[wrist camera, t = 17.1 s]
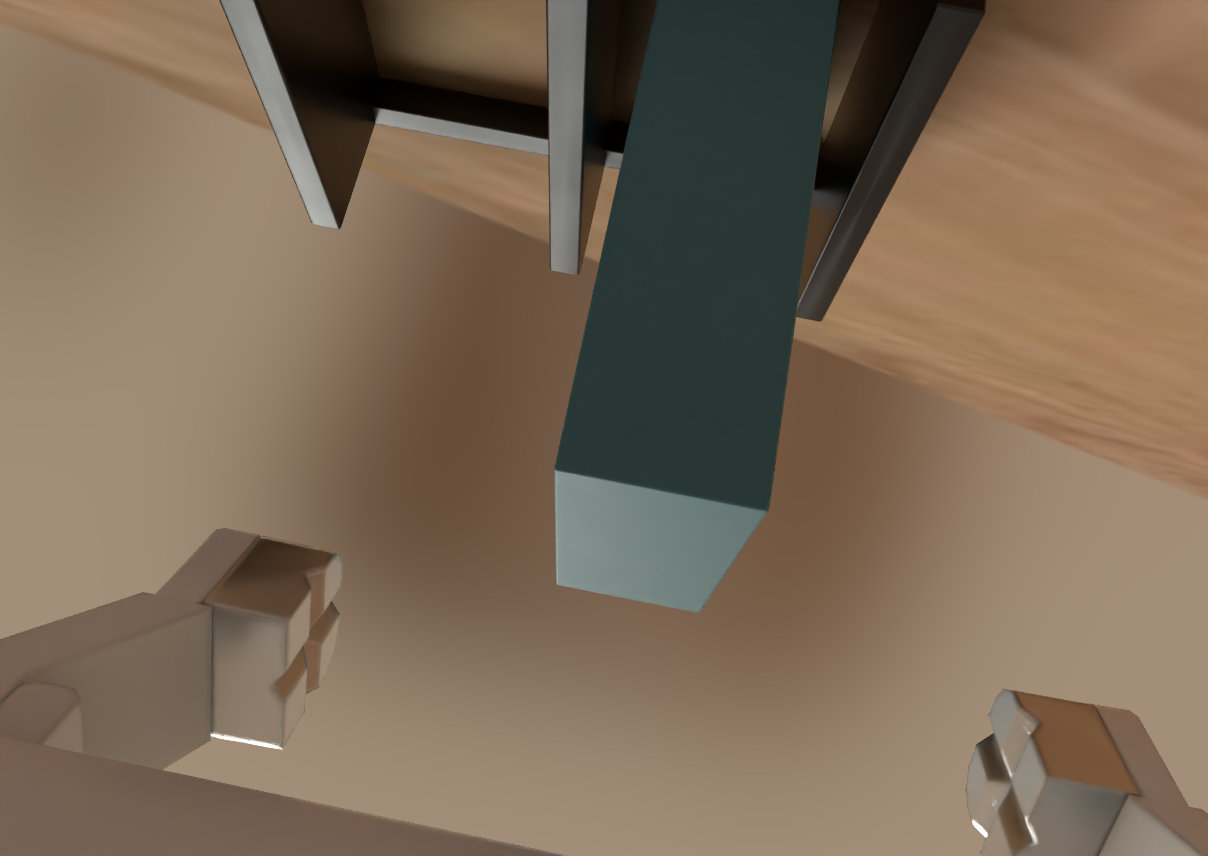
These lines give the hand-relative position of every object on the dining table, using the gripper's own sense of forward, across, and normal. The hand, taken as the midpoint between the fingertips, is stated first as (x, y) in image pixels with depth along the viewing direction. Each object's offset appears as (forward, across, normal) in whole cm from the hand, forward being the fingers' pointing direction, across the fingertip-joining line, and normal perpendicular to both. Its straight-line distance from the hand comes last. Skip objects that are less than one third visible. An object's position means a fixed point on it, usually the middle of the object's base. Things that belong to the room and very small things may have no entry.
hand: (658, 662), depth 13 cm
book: (+21, 0, -7) cm, 22 cm away
